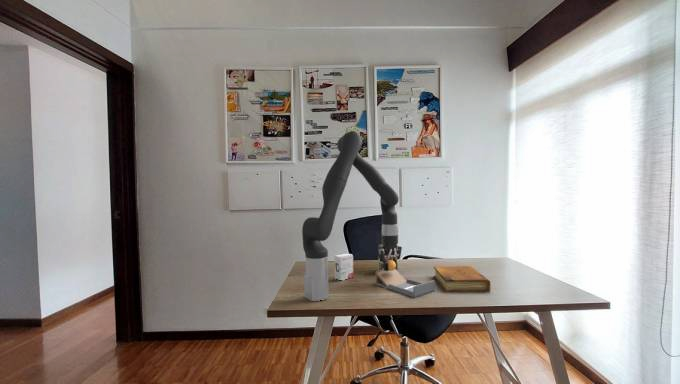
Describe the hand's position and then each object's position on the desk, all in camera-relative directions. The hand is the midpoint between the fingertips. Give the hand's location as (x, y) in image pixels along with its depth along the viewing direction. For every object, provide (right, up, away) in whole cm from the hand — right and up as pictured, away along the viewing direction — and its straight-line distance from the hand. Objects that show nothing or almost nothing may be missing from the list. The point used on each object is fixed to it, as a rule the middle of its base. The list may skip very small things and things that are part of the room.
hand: (390, 269), depth 154 cm
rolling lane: (+5, -7, -6) cm, 11 cm away
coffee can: (+2, -6, +19) cm, 20 cm away
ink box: (-22, -7, +9) cm, 24 cm away
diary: (+32, -7, -2) cm, 33 cm away
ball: (0, +2, 0) cm, 2 cm away
